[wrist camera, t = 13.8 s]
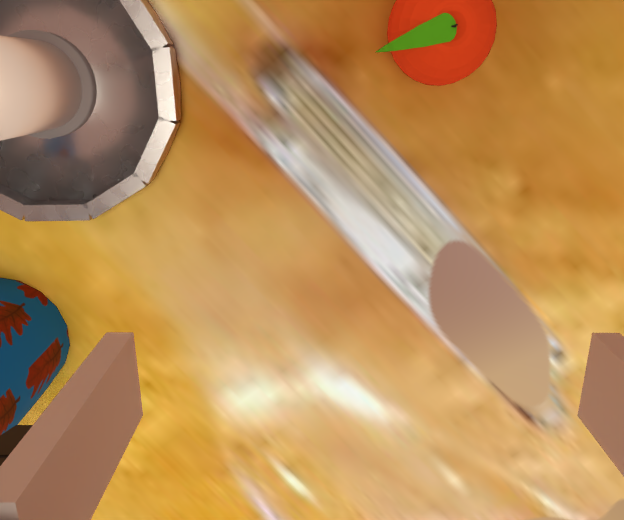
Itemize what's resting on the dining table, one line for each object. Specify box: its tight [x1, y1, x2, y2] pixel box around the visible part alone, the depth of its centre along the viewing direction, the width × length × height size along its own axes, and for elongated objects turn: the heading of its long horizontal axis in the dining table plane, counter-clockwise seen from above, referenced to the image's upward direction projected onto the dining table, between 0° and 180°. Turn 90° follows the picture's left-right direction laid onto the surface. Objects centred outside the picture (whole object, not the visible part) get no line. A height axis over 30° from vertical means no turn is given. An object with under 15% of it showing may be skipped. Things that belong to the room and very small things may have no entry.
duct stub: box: [0, 30, 97, 141], centre depth 36 cm, size 7×7×9 cm
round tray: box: [0, 0, 181, 221], centre depth 40 cm, size 19×19×2 cm
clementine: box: [376, 0, 497, 86], centre depth 36 cm, size 8×7×7 cm
